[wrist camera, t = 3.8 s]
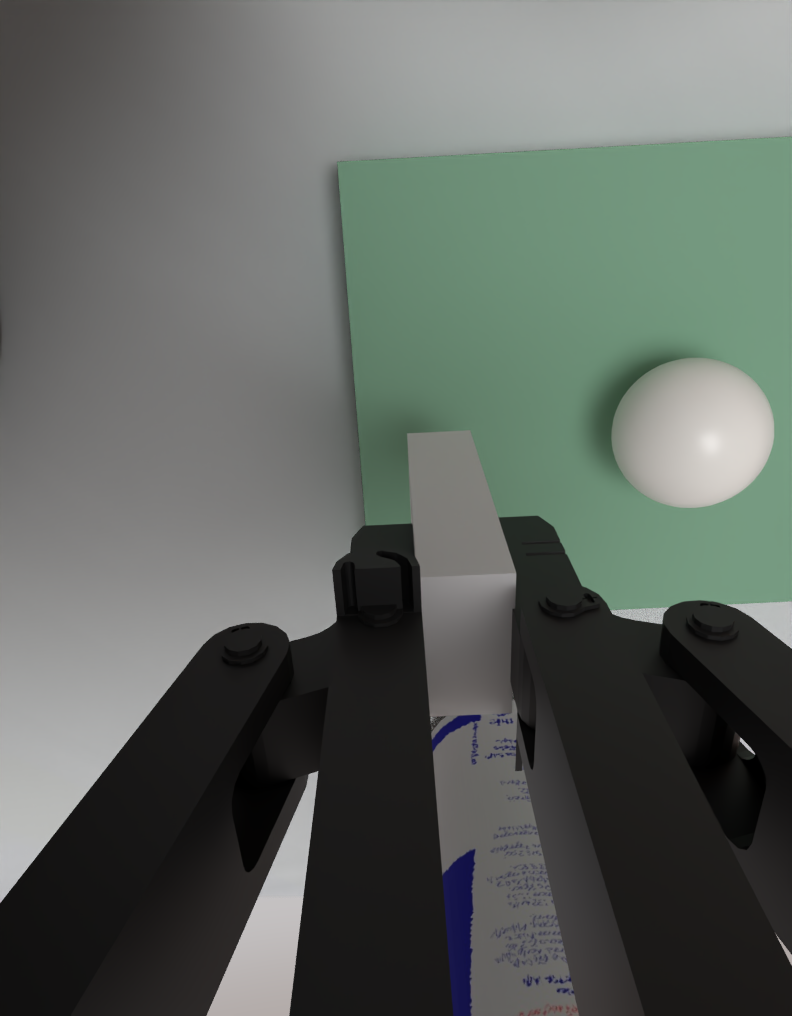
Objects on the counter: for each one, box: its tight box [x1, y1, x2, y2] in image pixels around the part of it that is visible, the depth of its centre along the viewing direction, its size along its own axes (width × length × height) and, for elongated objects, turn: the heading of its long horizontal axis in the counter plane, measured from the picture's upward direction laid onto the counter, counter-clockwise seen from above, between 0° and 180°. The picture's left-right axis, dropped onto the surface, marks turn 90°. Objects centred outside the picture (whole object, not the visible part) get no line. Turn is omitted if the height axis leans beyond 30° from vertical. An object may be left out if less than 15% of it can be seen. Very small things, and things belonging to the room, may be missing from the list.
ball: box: [611, 358, 774, 508], centre depth 18 cm, size 4×4×4 cm
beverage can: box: [431, 700, 579, 1016], centre depth 22 cm, size 6×6×15 cm
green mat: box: [337, 137, 792, 610], centre depth 21 cm, size 24×14×2 cm, turn 93°
